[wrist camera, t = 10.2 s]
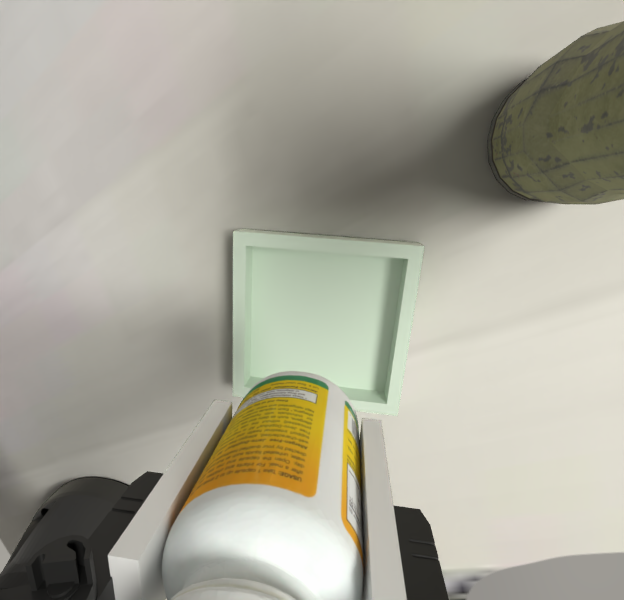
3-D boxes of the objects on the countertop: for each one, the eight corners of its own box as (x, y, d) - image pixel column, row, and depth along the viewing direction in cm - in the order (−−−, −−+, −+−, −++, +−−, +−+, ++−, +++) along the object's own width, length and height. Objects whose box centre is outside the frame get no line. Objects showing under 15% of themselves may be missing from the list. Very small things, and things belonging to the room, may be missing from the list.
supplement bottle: (383, 420, 15) (439, 766, 6) (303, 487, 16) (247, 848, 7) (291, 341, 14) (189, 585, 5) (217, 418, 16) (36, 715, 7)
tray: (241, 381, 32) (232, 396, 29) (243, 228, 28) (232, 231, 25) (393, 399, 30) (397, 416, 28) (417, 242, 27) (424, 246, 24)
